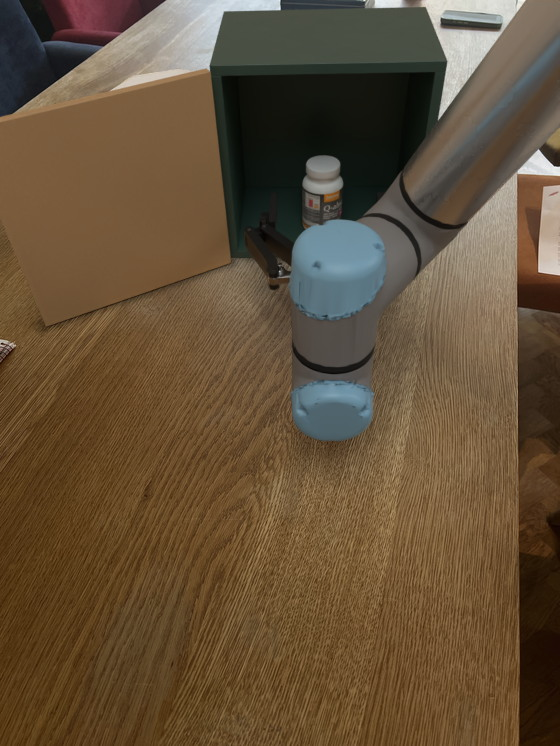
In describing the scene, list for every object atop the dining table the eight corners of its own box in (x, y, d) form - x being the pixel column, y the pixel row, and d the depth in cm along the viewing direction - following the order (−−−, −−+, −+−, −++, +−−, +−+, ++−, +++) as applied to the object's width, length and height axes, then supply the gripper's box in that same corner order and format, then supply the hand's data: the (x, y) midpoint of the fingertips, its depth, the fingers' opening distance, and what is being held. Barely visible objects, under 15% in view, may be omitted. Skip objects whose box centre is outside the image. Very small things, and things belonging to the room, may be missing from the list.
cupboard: (415, 256, 87) (447, 60, 67) (230, 257, 88) (209, 65, 68) (401, 189, 99) (426, 6, 79) (239, 190, 100) (223, 11, 81)
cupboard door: (33, 296, 83) (-48, 104, 64) (211, 237, 91) (186, 51, 72) (46, 327, 79) (-38, 130, 60) (231, 262, 87) (210, 71, 68)
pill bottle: (330, 241, 88) (332, 178, 81) (295, 230, 90) (294, 168, 83) (347, 221, 91) (351, 158, 84) (313, 211, 93) (314, 149, 86)
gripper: (217, 335, 69) (233, 226, 83) (441, 336, 68) (418, 226, 82) (209, 282, 63) (228, 176, 78) (453, 283, 62) (427, 174, 76)
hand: (326, 201), depth 80 cm, fingers open, 13 cm apart
